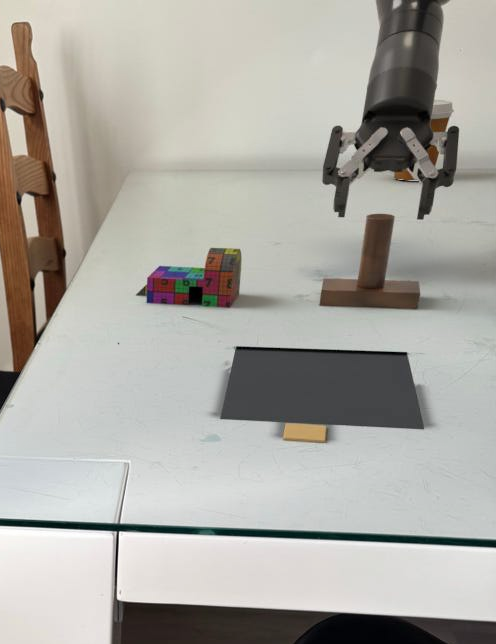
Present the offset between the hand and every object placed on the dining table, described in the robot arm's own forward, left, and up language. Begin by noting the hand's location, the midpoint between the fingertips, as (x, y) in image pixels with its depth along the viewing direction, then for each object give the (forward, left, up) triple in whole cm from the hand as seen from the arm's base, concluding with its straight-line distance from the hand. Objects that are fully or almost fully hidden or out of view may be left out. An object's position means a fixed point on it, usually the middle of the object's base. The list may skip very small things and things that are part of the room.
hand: (381, 214), depth 113 cm
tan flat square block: (+7, +48, -8) cm, 50 cm away
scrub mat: (+6, +36, -8) cm, 37 cm away
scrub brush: (+1, +10, -8) cm, 13 cm away
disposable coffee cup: (-10, -77, -9) cm, 78 cm away
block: (+21, +9, -9) cm, 24 cm away
